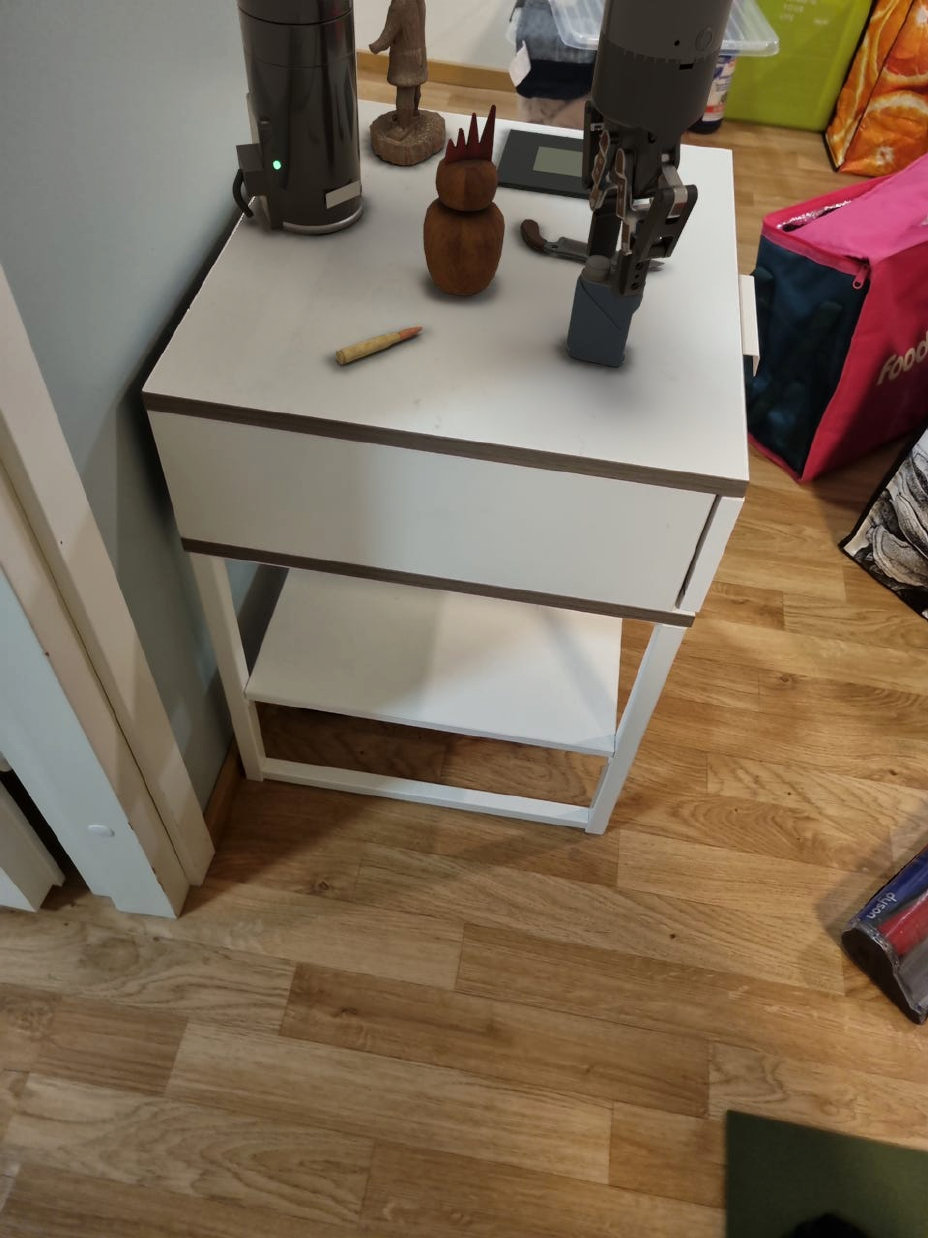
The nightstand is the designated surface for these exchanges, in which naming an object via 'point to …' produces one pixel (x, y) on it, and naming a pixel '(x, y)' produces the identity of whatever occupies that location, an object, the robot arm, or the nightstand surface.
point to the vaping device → (600, 314)
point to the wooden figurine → (465, 215)
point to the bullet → (373, 345)
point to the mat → (543, 164)
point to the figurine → (406, 89)
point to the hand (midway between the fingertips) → (612, 275)
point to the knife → (563, 244)
